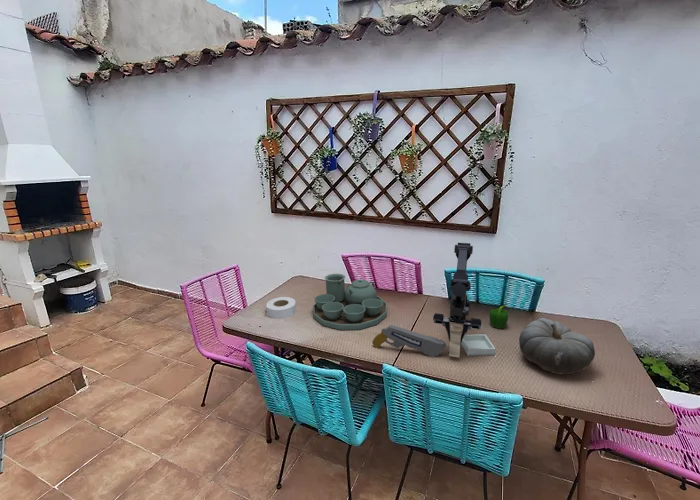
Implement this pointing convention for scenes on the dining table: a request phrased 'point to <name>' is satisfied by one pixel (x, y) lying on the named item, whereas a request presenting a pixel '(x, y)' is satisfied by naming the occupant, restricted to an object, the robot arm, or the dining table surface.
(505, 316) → the bell pepper
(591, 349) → the gourd
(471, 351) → the tray
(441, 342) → the gun
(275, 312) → the roll of tape
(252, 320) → the dining table surface
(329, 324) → the tea set
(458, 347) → the handle block
